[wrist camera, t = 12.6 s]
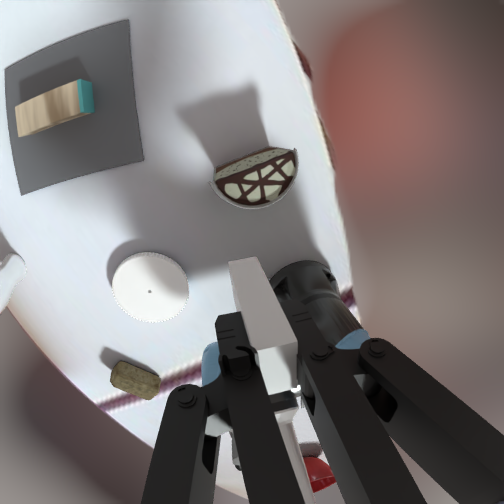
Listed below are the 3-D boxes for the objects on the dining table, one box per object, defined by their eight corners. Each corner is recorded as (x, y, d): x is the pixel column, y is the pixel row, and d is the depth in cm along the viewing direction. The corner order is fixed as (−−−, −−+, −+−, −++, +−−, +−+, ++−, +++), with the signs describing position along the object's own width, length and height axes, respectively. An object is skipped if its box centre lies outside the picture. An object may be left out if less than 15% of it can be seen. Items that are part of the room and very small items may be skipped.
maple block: (80, 78, 28) (14, 106, 27) (83, 111, 30) (18, 137, 29) (91, 82, 33) (30, 106, 31) (95, 112, 35) (33, 134, 33)
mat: (129, 20, 30) (128, 19, 29) (143, 160, 41) (143, 160, 40) (6, 70, 26) (4, 69, 26) (22, 194, 37) (21, 195, 37)
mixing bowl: (340, 449, 106) (352, 474, 92) (298, 474, 112) (306, 497, 99) (301, 447, 94) (312, 478, 80) (256, 473, 101) (264, 501, 87)
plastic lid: (198, 260, 50) (198, 267, 48) (178, 321, 55) (178, 329, 53) (121, 240, 46) (118, 246, 43) (110, 304, 50) (108, 312, 48)
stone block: (118, 357, 56) (115, 373, 52) (163, 375, 61) (162, 391, 57) (110, 370, 58) (107, 386, 53) (152, 387, 62) (152, 403, 58)
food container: (220, 205, 46) (227, 227, 38) (205, 171, 44) (209, 185, 35) (289, 177, 47) (313, 192, 38) (277, 142, 44) (300, 149, 35)
